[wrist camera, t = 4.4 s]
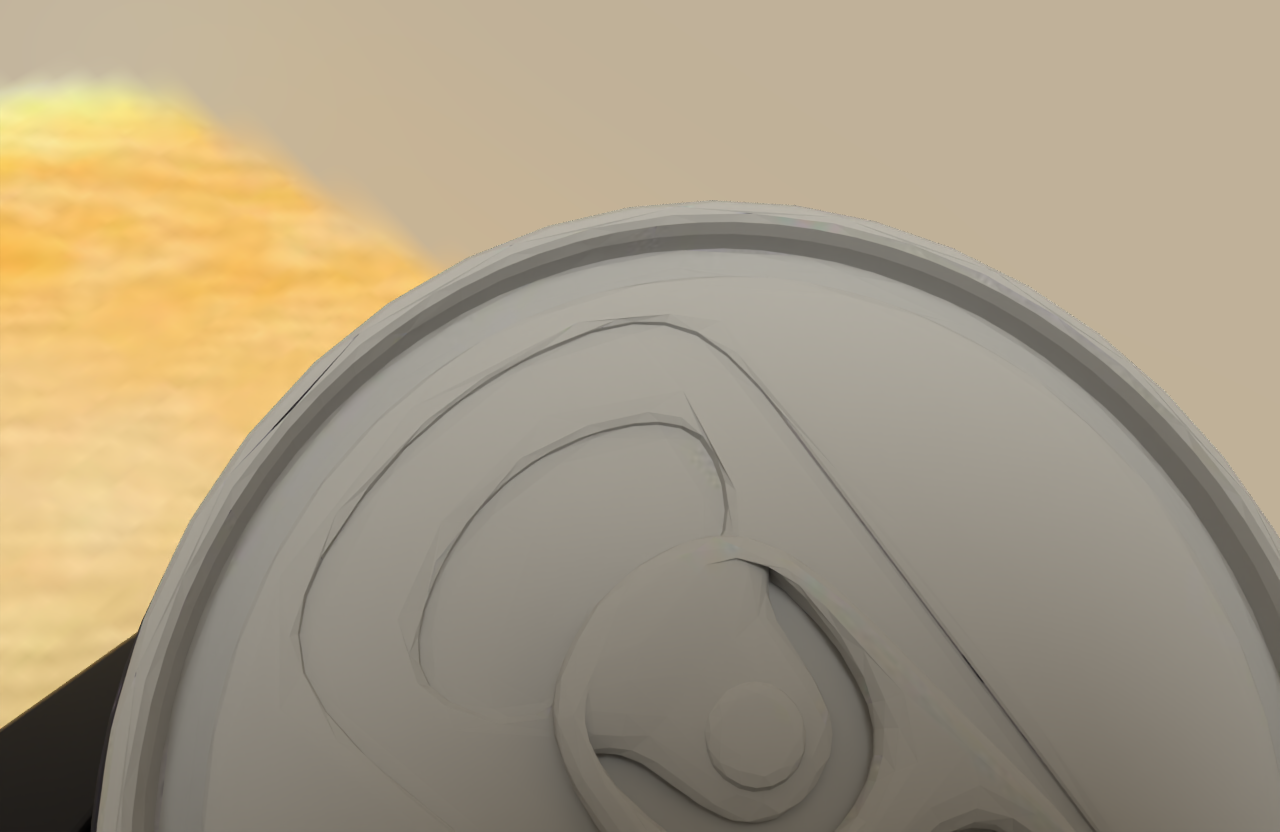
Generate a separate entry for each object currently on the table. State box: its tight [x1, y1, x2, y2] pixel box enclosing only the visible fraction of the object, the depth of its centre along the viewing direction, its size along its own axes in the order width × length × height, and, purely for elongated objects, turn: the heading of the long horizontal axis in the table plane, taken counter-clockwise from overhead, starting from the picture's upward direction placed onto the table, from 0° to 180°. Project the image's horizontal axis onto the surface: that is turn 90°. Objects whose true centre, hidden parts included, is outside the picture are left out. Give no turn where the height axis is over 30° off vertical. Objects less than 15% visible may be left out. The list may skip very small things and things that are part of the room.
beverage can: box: [91, 200, 1280, 832], centre depth 10 cm, size 6×6×12 cm
